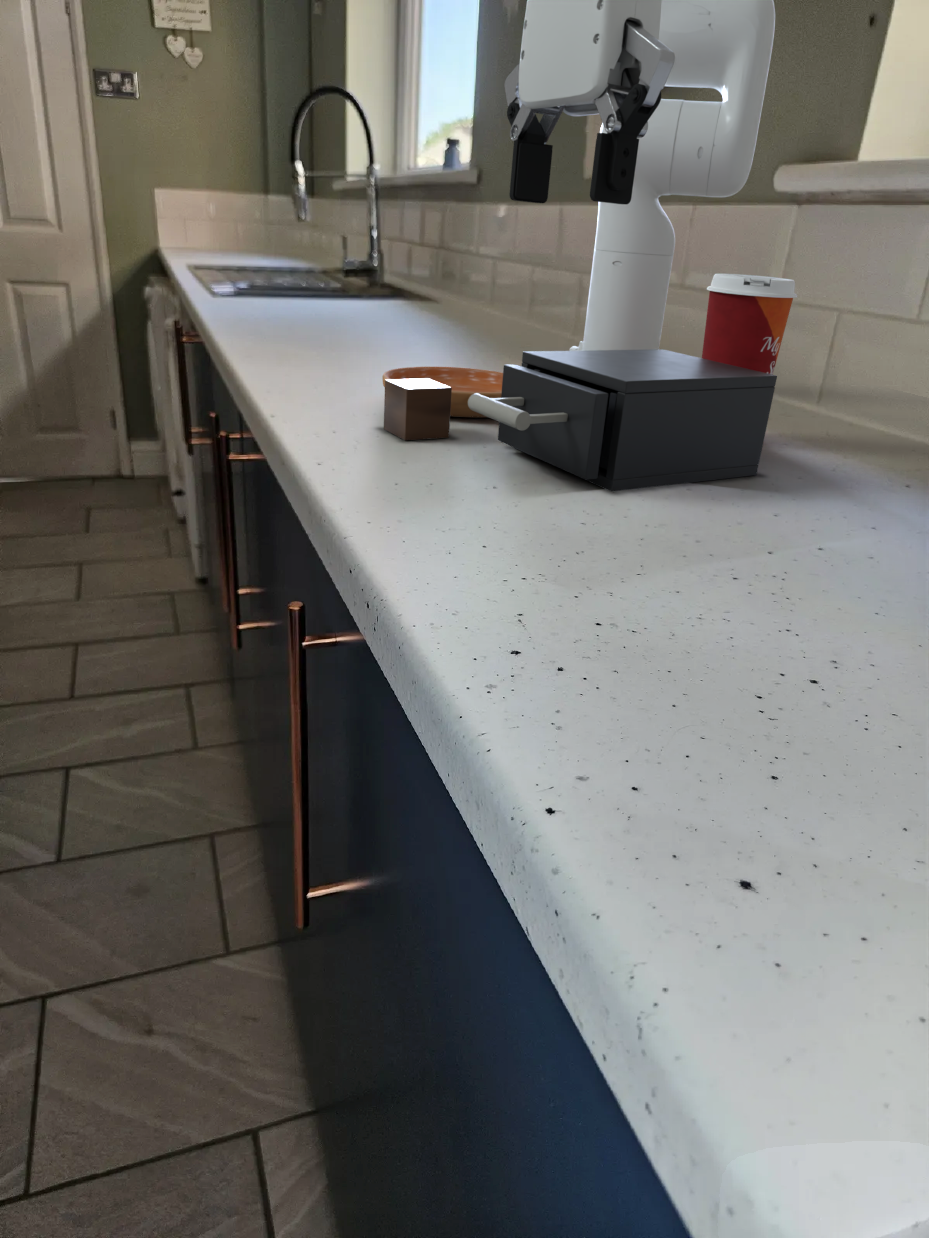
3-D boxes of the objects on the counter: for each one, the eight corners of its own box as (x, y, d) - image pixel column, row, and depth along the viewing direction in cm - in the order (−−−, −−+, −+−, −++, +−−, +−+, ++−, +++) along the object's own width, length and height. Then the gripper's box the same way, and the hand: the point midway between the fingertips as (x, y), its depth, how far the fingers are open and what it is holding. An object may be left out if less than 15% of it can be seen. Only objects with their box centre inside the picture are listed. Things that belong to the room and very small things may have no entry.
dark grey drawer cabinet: (611, 491, 67) (627, 381, 63) (513, 448, 77) (522, 351, 74) (756, 475, 74) (777, 375, 71) (649, 437, 85) (663, 349, 81)
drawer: (531, 485, 63) (540, 396, 61) (447, 444, 73) (452, 365, 70) (724, 465, 72) (740, 387, 70) (627, 431, 82) (637, 361, 80)
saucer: (419, 386, 101) (420, 359, 100) (550, 404, 97) (553, 376, 95) (354, 408, 88) (354, 378, 87) (503, 431, 83) (506, 399, 82)
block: (383, 429, 80) (384, 379, 79) (426, 426, 83) (428, 378, 81) (404, 441, 77) (406, 389, 75) (449, 437, 79) (452, 387, 77)
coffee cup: (770, 451, 83) (807, 282, 76) (683, 441, 84) (711, 275, 78) (761, 432, 90) (793, 278, 84) (680, 424, 91) (706, 271, 85)
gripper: (740, -112, 51) (689, 208, 58) (564, -49, 65) (539, 206, 71) (644, -149, 48) (602, 198, 54) (478, -73, 61) (461, 197, 68)
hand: (566, 202), depth 63 cm, fingers open, 9 cm apart
